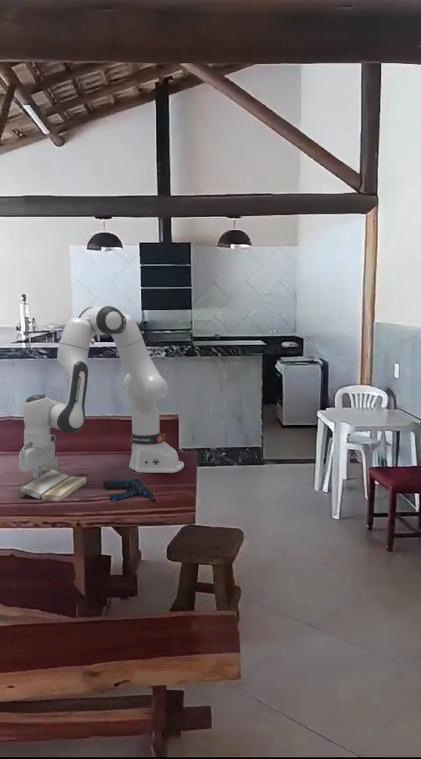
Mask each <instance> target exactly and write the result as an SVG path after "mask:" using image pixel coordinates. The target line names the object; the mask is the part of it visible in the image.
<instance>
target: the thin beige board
mask: <svg viewBox="0 0 421 759" xmlns="http://www.w3.org/2000/svg"><path fill="white" fill-rule="evenodd" d="M68 476H69V475H68ZM86 483H87V477H84V476H74V475H73V476H71V475H70V476H69V477H68V478H66V479H65V480H63V481H61V482H60V483H58V484H57V485H55V486H54V487H52V488H51V489H49V490H48V491H46V492H44V493H43V494H42V498H41V500H42V501H51V502H52V501H53V502H61V501H62V500H64V499H65V498H67V497H68V496H69V495H71V494H72V493H73V492H76V491H77V490H78V489H80V488H81V487H82V486H84V485H86Z"/></svg>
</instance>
